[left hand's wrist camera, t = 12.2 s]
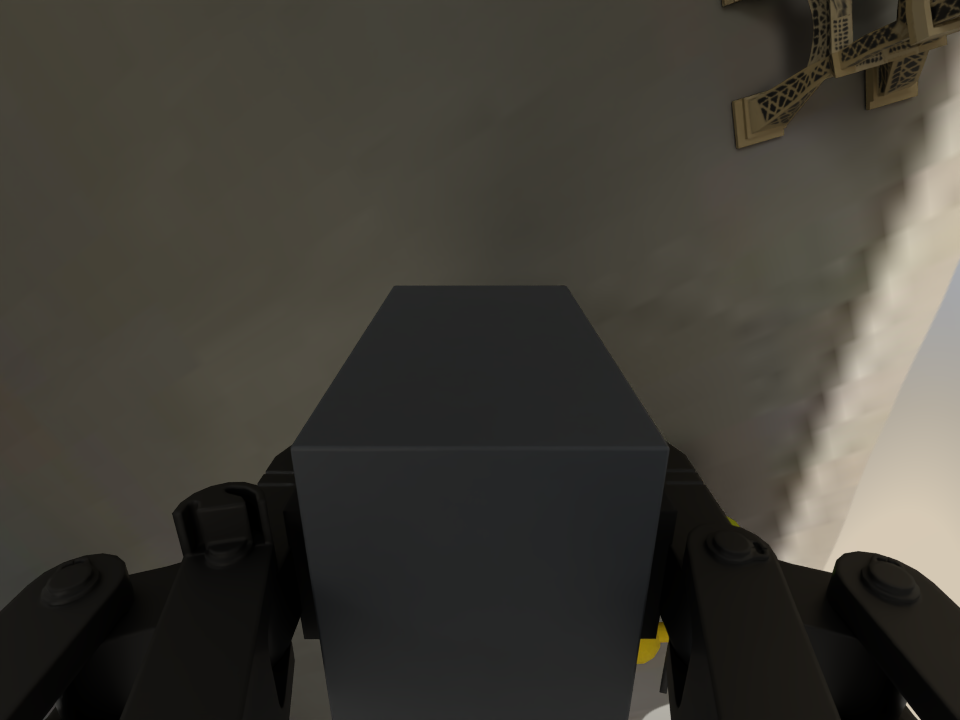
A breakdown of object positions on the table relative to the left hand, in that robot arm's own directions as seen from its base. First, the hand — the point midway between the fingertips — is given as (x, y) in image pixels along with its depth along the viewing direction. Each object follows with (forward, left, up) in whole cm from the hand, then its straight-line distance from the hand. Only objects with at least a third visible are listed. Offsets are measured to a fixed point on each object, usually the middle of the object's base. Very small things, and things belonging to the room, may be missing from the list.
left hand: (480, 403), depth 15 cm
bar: (+6, +7, -1) cm, 9 cm away
